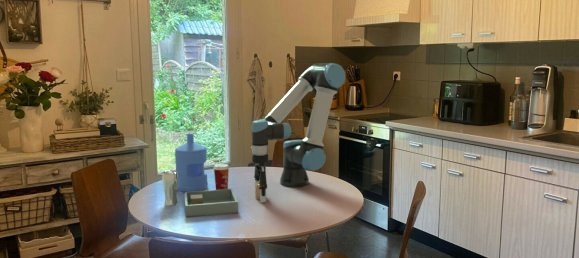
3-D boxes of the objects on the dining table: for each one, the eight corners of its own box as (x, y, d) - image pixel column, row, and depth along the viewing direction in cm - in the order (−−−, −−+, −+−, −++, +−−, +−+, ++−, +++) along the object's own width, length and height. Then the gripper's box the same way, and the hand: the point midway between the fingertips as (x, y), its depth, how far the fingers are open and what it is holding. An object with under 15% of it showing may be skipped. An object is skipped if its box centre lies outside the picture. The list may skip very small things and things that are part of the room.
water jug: (170, 190, 223) (167, 135, 219) (188, 182, 238) (186, 131, 233) (196, 194, 218) (194, 137, 213) (213, 185, 232) (211, 132, 228)
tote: (232, 198, 210) (232, 188, 210) (238, 212, 191) (238, 201, 191) (184, 202, 205) (184, 192, 204) (185, 217, 186) (185, 205, 185)
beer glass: (182, 202, 205) (180, 170, 203) (173, 207, 199) (172, 174, 197) (169, 200, 208) (167, 169, 205) (160, 205, 201) (158, 173, 199)
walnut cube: (191, 206, 199) (190, 195, 198) (202, 205, 200) (202, 194, 199) (191, 209, 194) (190, 198, 193) (203, 208, 195) (202, 197, 194)
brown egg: (264, 196, 214) (264, 182, 213) (266, 199, 209) (266, 185, 208) (254, 197, 213) (254, 183, 212) (256, 200, 208) (256, 185, 207)
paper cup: (226, 195, 215) (226, 167, 213) (211, 194, 217) (210, 166, 214) (232, 191, 223) (231, 163, 220) (217, 190, 224) (216, 163, 222)
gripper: (248, 148, 219) (248, 191, 222) (256, 159, 195) (257, 206, 198) (263, 148, 220) (263, 189, 224) (273, 158, 197) (273, 205, 200)
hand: (260, 197), depth 211 cm, fingers open, 12 cm apart
